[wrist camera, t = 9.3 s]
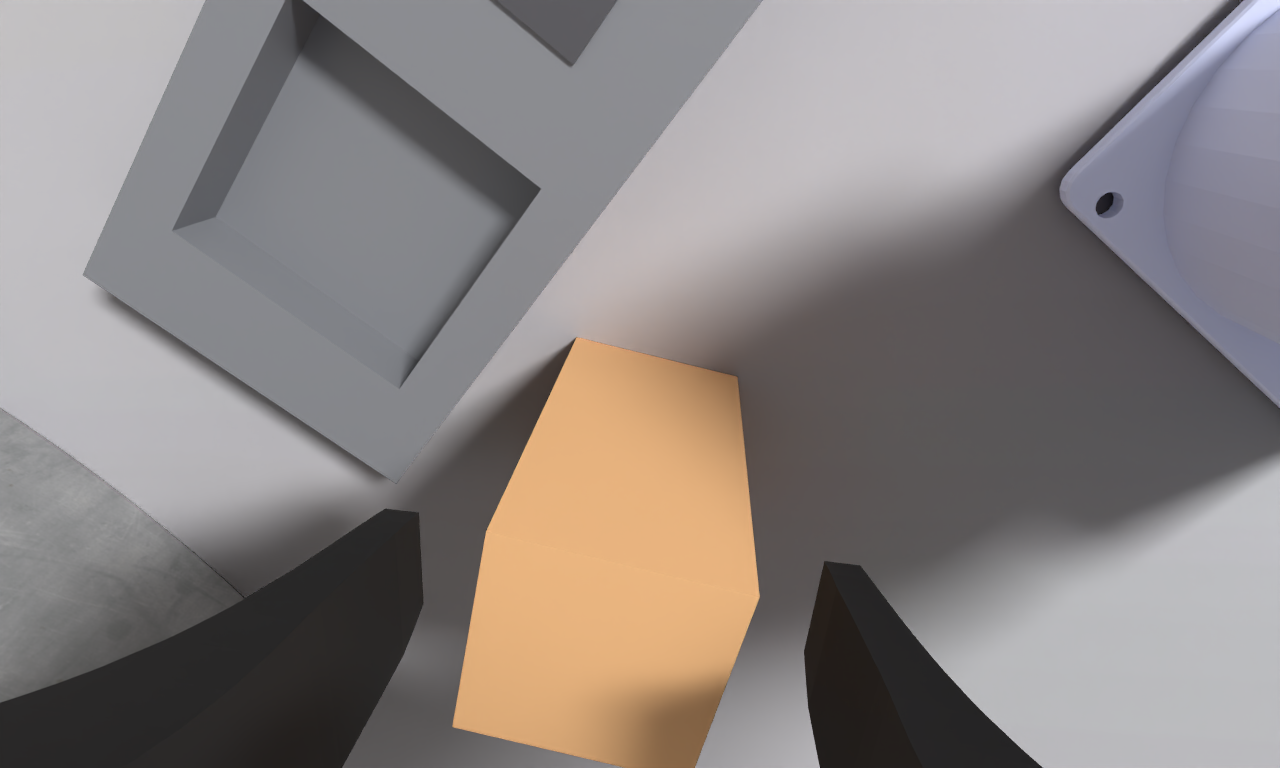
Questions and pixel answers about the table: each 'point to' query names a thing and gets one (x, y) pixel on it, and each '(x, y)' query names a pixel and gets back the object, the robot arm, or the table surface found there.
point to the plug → (616, 567)
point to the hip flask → (84, 569)
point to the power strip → (388, 188)
